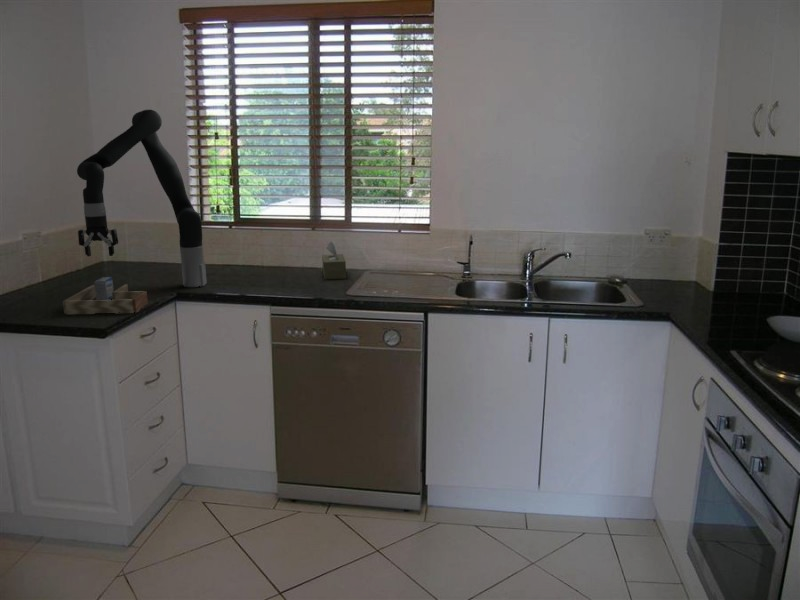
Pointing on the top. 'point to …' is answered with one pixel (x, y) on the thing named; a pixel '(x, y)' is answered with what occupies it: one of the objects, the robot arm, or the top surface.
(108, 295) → the medicine box
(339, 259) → the tissue box
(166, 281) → the top surface
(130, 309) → the channel
